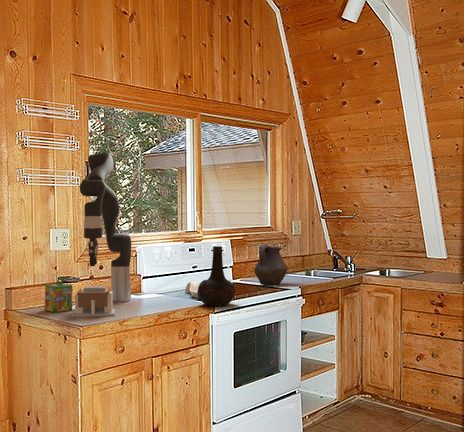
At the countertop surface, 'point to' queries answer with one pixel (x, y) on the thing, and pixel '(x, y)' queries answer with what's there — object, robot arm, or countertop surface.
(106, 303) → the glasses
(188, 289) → the spoon rest
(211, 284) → the glass bottle
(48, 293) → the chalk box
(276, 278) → the pitcher
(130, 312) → the countertop surface
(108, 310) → the display stand
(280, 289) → the countertop surface
